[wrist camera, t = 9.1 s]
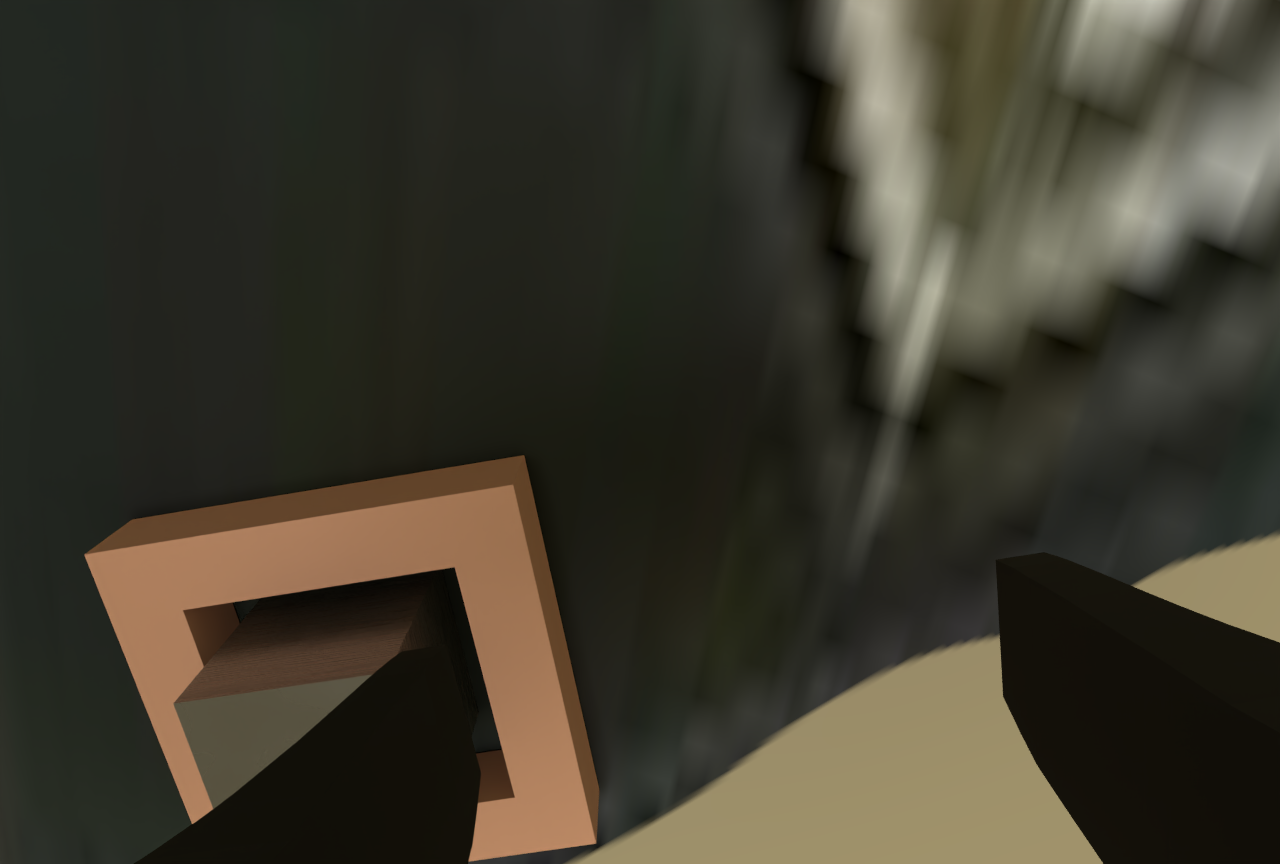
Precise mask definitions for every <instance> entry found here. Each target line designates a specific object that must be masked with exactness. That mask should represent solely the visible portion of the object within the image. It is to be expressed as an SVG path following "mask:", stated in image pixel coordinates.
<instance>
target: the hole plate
mask: <svg viewBox="0 0 1280 864" xmlns="http://www.w3.org/2000/svg"><path fill="white" fill-rule="evenodd" d="M84 555H85V558H86V560H87V563H88V565H89V568H90V570H91V573H92V575H93V578H94V580H95V583H96V585H97V588H98V590H99V593H100V595H101V598H102V600H103V603H104V605H105V608H106V610H107V613H108V615H109V618H110V620H111V622H112V625H113V627H114V630H115V632H116V635H117V637H118V640H119V642H120V645H121V647H122V650H123V652H124V655H125V657H126V660H127V662H128V665H129V667H130V670H131V672H132V675H133V677H134V680H135V682H136V685H137V687H138V690H139V692H140V695H141V697H142V700H143V702H144V705H145V707H146V710H147V712H148V715H149V717H150V720H151V722H152V725H153V727H154V730H155V732H156V735H157V737H158V740H159V742H160V745H161V747H162V750H163V752H164V755H165V757H166V760H167V762H168V765H169V767H170V770H171V772H172V775H173V777H174V780H175V782H176V785H177V787H178V790H179V792H180V795H181V797H182V800H183V802H184V805H185V807H186V810H187V812H188V815H189V817H190V820H191V822H192V824H193V823H195V822H196V821H198V820H199V819H200V818H202V817H203V816H204V815H206V814H207V813H208V812H210V811H211V810H213V807H212V804H211V802H210V799H209V796H208V794H207V791H206V788H205V786H204V783H203V781H202V778H201V775H200V773H199V770H198V767H197V765H196V762H195V760H194V757H193V754H192V752H191V749H190V746H189V744H188V741H187V738H186V736H185V733H184V731H183V728H182V725H181V723H180V720H179V717H178V715H177V712H176V710H175V707H174V704H173V703H174V702H175V701H176V700H177V699H178V697H179V696H180V695H181V694H182V693H183V691H184V690H185V689H186V688H187V687H188V685H189V684H190V683H191V682H192V681H193V679H194V678H195V677H196V676H197V675H198V673H199V672H200V671H201V670H202V669H203V667H204V666H205V665H206V664H207V663H208V661H209V660H210V659H211V658H212V657H213V655H214V654H215V653H216V652H217V651H218V649H219V648H220V647H221V646H222V645H223V643H224V642H225V641H226V640H227V639H228V637H229V636H230V635H231V634H232V633H233V631H234V630H235V629H236V628H237V627H238V625H239V624H240V623H239V620H238V617H237V614H236V611H235V609H234V606H233V603H232V602H238V601H244V600H250V599H257V598H263V597H269V596H276V595H282V594H288V593H294V592H301V591H307V590H313V589H320V588H326V587H332V586H339V585H345V584H351V583H358V582H364V581H370V580H376V579H383V578H389V577H395V576H402V575H408V574H414V573H421V572H427V571H433V570H440V569H446V568H452V567H455V570H456V574H457V578H458V581H459V585H460V589H461V593H462V597H463V601H464V604H465V608H466V612H467V616H468V620H469V624H470V627H471V631H472V635H473V639H474V643H475V647H476V650H477V654H478V658H479V662H480V666H481V670H482V673H483V677H484V681H485V685H486V689H487V693H488V696H489V700H490V704H491V708H492V712H493V716H494V719H495V723H496V727H497V731H498V735H499V739H500V742H501V746H502V750H497V751H490V752H483V753H477V754H476V756H477V760H478V763H479V767H480V771H481V779H480V788H479V798H478V807H477V815H476V823H475V830H474V837H473V845H472V849H471V853H470V857H469V861H476V860H483V859H490V858H497V857H504V856H511V855H518V854H525V853H532V852H539V851H546V850H553V849H560V848H567V847H575V846H582V845H589V844H596V837H597V820H598V804H599V786H598V781H597V777H596V773H595V768H594V764H593V759H592V755H591V750H590V746H589V741H588V737H587V732H586V728H585V724H584V719H583V715H582V710H581V706H580V701H579V697H578V692H577V688H576V684H575V679H574V675H573V670H572V666H571V661H570V657H569V652H568V648H567V643H566V639H565V635H564V630H563V626H562V621H561V617H560V612H559V608H558V603H557V599H556V595H555V590H554V586H553V581H552V577H551V572H550V568H549V563H548V559H547V555H546V550H545V546H544V541H543V537H542V532H541V528H540V523H539V519H538V514H537V510H536V506H535V501H534V497H533V492H532V488H531V483H530V479H529V474H528V470H527V466H526V461H525V457H524V455H522V456H516V457H509V458H503V459H497V460H491V461H485V462H479V463H473V464H467V465H461V466H455V467H449V468H443V469H436V470H430V471H424V472H418V473H412V474H406V475H400V476H394V477H388V478H382V479H376V480H370V481H363V482H357V483H351V484H345V485H339V486H333V487H327V488H321V489H315V490H309V491H303V492H297V493H290V494H284V495H278V496H272V497H266V498H260V499H254V500H248V501H242V502H236V503H230V504H224V505H217V506H211V507H205V508H199V509H193V510H187V511H181V512H175V513H169V514H163V515H157V516H151V517H145V518H138V519H132V520H131V521H129V522H128V523H127V524H125V525H124V526H123V527H121V528H120V529H119V530H117V531H116V532H114V533H113V534H112V535H110V536H109V537H108V538H106V539H105V540H103V541H102V542H101V543H99V544H98V545H97V546H95V547H94V548H93V549H91V550H90V551H88V552H87V553H86V554H84ZM469 861H468V862H469Z"/></svg>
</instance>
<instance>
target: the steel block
mask: <svg viewBox="0 0 1280 864" xmlns="http://www.w3.org/2000/svg"><path fill="white" fill-rule="evenodd" d="M440 645H446V646H447V649H448V653H449V657H450V660H451V664H452V668H453V671H454V675H455V679H456V682H457V686H458V690H459V693H460V697H461V701H462V704H463V708H464V712H465V715H466V719H467V723H468V726H469V730H470V734H471V737H472V734H473V730H474V726H475V723H476V719H477V716H478V712H479V711H478V707H477V703H476V700H475V696H474V692H473V688H472V684H471V680H470V676H469V672H468V668H467V665H466V661H465V657H464V653H463V649H462V645H461V641H460V637H459V633H458V629H457V626H456V622H455V618H454V614H453V610H452V606H451V602H450V598H449V594H448V591H447V587H446V583H445V579H444V575H443V571H442V569H440V570H433V571H427V572H421V573H414V574H408V575H402V576H395V577H389V578H383V579H376V580H370V581H364V582H358V583H351V584H345V585H339V586H332V587H326V588H320V589H313V590H307V591H301V592H294V593H288V594H282V595H276V596H269V597H263V598H261V599H260V600H259V602H258V603H257V604H256V605H255V606H254V607H253V609H252V610H251V611H250V612H249V613H248V615H247V616H246V617H245V618H244V619H243V621H242V622H241V623H240V624H239V625H238V627H237V628H236V629H235V630H234V631H233V633H232V634H231V635H230V636H229V637H228V639H227V640H226V641H225V642H224V643H223V645H222V646H221V647H220V648H219V649H218V651H217V652H216V653H215V654H214V655H213V657H212V658H211V659H210V660H209V661H208V663H207V664H206V665H205V666H204V667H203V669H202V670H201V671H200V672H199V673H198V675H197V676H196V677H195V678H194V679H193V681H192V682H191V683H190V684H189V685H188V687H187V688H186V689H185V690H184V691H183V693H182V694H181V695H180V696H179V697H178V699H177V700H176V701H175V702H174V703H173V704H174V707H175V710H176V712H177V715H178V717H179V720H180V723H181V725H182V728H183V731H184V733H185V736H186V738H187V741H188V744H189V746H190V749H191V752H192V754H193V757H194V760H195V762H196V765H197V767H198V770H199V773H200V775H201V778H202V781H203V783H204V786H205V788H206V791H207V794H208V796H209V799H210V802H211V804H212V807H213V809H214V808H215V807H217V806H218V805H219V804H221V803H222V802H223V801H225V800H226V799H227V798H228V797H230V796H231V795H232V794H234V793H235V792H236V791H237V790H239V789H240V788H241V787H242V786H244V785H245V784H246V783H247V782H248V781H250V780H251V779H252V778H253V777H255V776H256V775H257V774H258V773H259V772H261V771H262V770H263V769H264V768H265V767H267V766H268V765H269V764H270V763H272V762H273V761H274V760H275V759H276V758H278V757H279V756H280V755H281V754H283V753H284V752H285V751H286V750H287V749H289V748H290V747H291V746H292V745H294V744H295V743H296V742H297V741H298V740H299V739H301V738H302V737H303V736H304V735H305V734H306V733H307V732H309V731H310V730H311V729H312V728H313V727H314V726H315V725H316V724H318V723H319V722H320V721H321V720H322V719H323V718H324V717H325V716H327V715H328V714H329V713H330V712H331V711H332V710H333V709H334V708H336V707H337V706H338V705H339V704H340V703H341V702H342V701H343V700H345V699H346V698H347V697H348V696H349V695H350V694H351V693H352V692H353V691H355V690H356V689H357V688H358V687H359V686H360V685H361V684H362V683H364V682H365V681H366V680H367V679H368V678H369V677H370V676H371V675H373V674H374V673H375V672H376V671H377V670H378V669H380V668H381V667H382V666H383V665H384V664H386V663H387V662H388V661H389V660H391V659H392V658H393V657H395V656H396V655H397V654H399V653H400V652H402V651H408V650H414V649H421V648H427V647H434V646H440Z"/></svg>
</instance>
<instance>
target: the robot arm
mask: <svg viewBox="0 0 1280 864" xmlns="http://www.w3.org/2000/svg"><path fill="white" fill-rule="evenodd" d="M996 573H997V591H998V610H999V628H1000V646H1001V664H1002V683H1003V697H1004V699H1005V701H1006V703H1007V705H1008V707H1009V710H1010V712H1011V714H1012V716H1013V717H1014V720H1015V722H1016V724H1017V726H1018V728H1019V730H1020V732H1021V735H1022V737H1023V738H1024V740H1025V742H1026V744H1027V746H1028V748H1029V750H1030V752H1031V754H1032V756H1033V758H1034V760H1035V762H1036V764H1037V765H1038V767H1039V768H1040V770H1041V771H1042V773H1043V775H1044V776H1045V778H1046V779H1047V781H1048V782H1049V784H1050V785H1051V787H1052V788H1053V790H1054V791H1055V793H1056V794H1057V796H1058V797H1059V799H1060V800H1061V802H1062V803H1063V805H1064V806H1065V808H1066V809H1067V811H1068V812H1069V814H1070V815H1071V817H1072V818H1073V820H1074V821H1075V823H1076V824H1077V825H1078V827H1079V828H1080V830H1081V831H1082V833H1083V834H1084V836H1085V837H1086V839H1087V840H1088V841H1089V843H1090V844H1091V846H1092V847H1093V849H1094V850H1095V852H1096V853H1097V855H1098V856H1099V858H1100V859H1101V861H1102V862H1103V864H1280V643H1279V642H1276V641H1274V640H1271V639H1268V638H1265V637H1262V636H1259V635H1256V634H1254V633H1251V632H1248V631H1245V630H1242V629H1240V628H1237V627H1234V626H1231V625H1228V624H1226V623H1223V622H1220V621H1218V620H1215V619H1212V618H1209V617H1207V616H1204V615H1202V614H1199V613H1197V612H1194V611H1192V610H1189V609H1186V608H1184V607H1181V606H1179V605H1176V604H1174V603H1171V602H1169V601H1167V600H1164V599H1162V598H1159V597H1157V596H1154V595H1152V594H1149V593H1147V592H1145V591H1142V590H1140V589H1137V588H1135V587H1133V586H1130V585H1128V584H1125V583H1123V582H1121V581H1118V580H1116V579H1113V578H1111V577H1109V576H1106V575H1104V574H1101V573H1099V572H1097V571H1094V570H1092V569H1089V568H1087V567H1084V566H1082V565H1079V564H1077V563H1074V562H1071V561H1069V560H1066V559H1063V558H1061V557H1058V556H1055V555H1051V554H1048V553H1044V552H1043V553H1037V554H1031V555H1024V556H1018V557H1011V558H1005V559H998V560H996ZM480 779H481V771H480V767H479V763H478V760H477V756H476V752H475V748H474V745H473V741H472V737H471V734H470V730H469V726H468V723H467V719H466V715H465V712H464V708H463V704H462V701H461V697H460V693H459V690H458V686H457V682H456V679H455V675H454V671H453V668H452V664H451V660H450V657H449V653H448V649H447V646H446V645H440V646H434V647H427V648H421V649H414V650H408V651H402V652H400V653H399V654H397V655H396V656H395V657H393V658H392V659H391V660H389V661H388V662H387V663H386V664H384V665H383V666H382V667H381V668H380V669H378V670H377V671H376V672H375V673H374V674H373V675H371V676H370V677H369V678H368V679H367V680H366V681H365V682H364V683H362V684H361V685H360V686H359V687H358V688H357V689H356V690H355V691H353V692H352V693H351V694H350V695H349V696H348V697H347V698H346V699H345V700H343V701H342V702H341V703H340V704H339V705H338V706H337V707H336V708H334V709H333V710H332V711H331V712H330V713H329V714H328V715H327V716H325V717H324V718H323V719H322V720H321V721H320V722H319V723H318V724H316V725H315V726H314V727H313V728H312V729H311V730H310V731H309V732H307V733H306V734H305V735H304V736H303V737H302V738H301V739H299V740H298V741H297V742H296V743H295V744H294V745H292V746H291V747H290V748H289V749H287V750H286V751H285V752H284V753H283V754H281V755H280V756H279V757H278V758H276V759H275V760H274V761H273V762H272V763H270V764H269V765H268V766H267V767H265V768H264V769H263V770H262V771H261V772H259V773H258V774H257V775H256V776H255V777H253V778H252V779H251V780H250V781H248V782H247V783H246V784H245V785H244V786H242V787H241V788H240V789H239V790H237V791H236V792H235V793H234V794H232V795H231V796H230V797H228V798H227V799H226V800H225V801H223V802H222V803H221V804H219V805H218V806H217V807H215V808H214V809H213V810H211V811H210V812H208V813H207V814H206V815H204V816H203V817H202V818H200V819H199V820H198V821H196V822H195V823H193V824H192V825H190V826H189V827H188V828H186V829H185V830H183V831H182V832H180V833H179V834H177V835H176V836H175V837H173V838H172V839H170V840H169V841H167V842H166V843H164V844H163V845H162V846H160V847H159V848H157V849H156V850H154V851H153V852H151V853H150V854H148V855H147V856H145V857H144V858H142V859H141V860H139V861H137V862H136V863H134V864H468V861H469V857H470V853H471V849H472V845H473V837H474V830H475V823H476V815H477V807H478V798H479V788H480Z"/></svg>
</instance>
